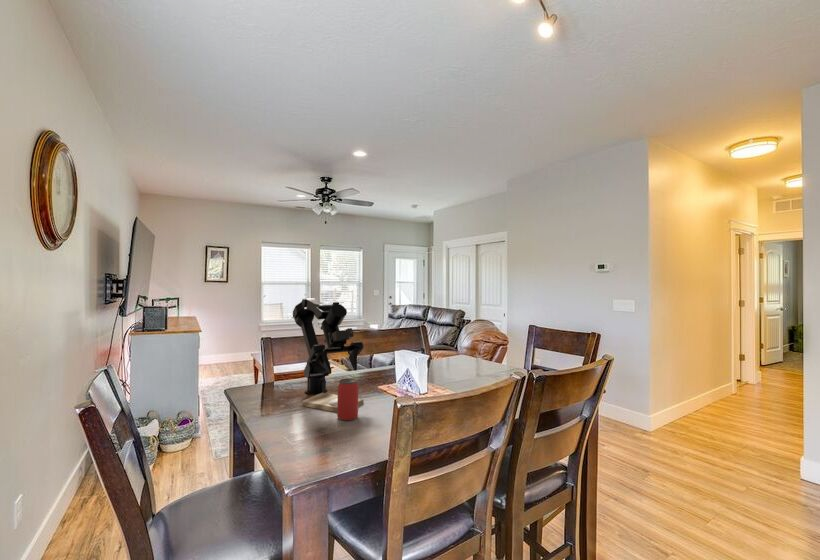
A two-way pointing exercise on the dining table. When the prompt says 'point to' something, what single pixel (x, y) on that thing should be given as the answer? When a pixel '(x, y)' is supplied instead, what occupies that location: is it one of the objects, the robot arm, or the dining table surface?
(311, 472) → the dining table surface
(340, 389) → the beer can
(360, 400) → the birch board
